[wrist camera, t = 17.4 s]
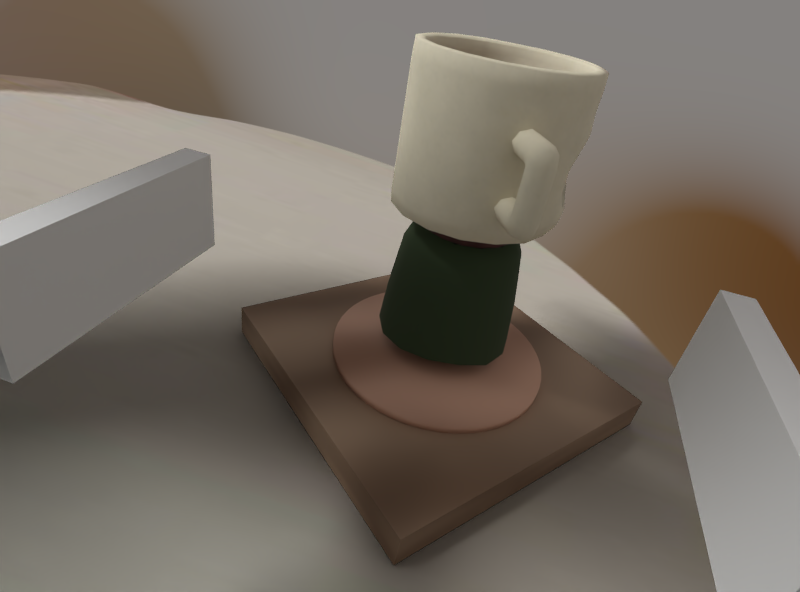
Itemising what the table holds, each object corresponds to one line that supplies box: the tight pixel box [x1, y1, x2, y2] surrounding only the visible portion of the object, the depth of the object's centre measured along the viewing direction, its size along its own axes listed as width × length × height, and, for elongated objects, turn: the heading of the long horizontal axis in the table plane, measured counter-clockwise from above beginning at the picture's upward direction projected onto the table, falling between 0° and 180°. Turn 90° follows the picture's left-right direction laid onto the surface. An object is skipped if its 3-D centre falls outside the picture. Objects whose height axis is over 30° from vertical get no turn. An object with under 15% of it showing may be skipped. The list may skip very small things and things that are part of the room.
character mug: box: [379, 33, 609, 365], centre depth 22 cm, size 11×7×13 cm, turn 9°
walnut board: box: [242, 275, 642, 565], centre depth 25 cm, size 14×14×2 cm
